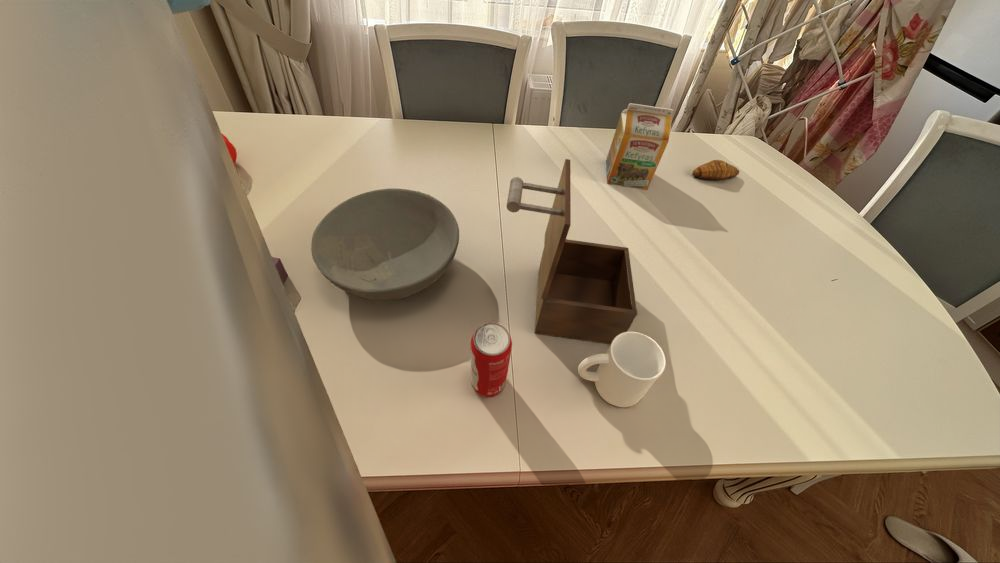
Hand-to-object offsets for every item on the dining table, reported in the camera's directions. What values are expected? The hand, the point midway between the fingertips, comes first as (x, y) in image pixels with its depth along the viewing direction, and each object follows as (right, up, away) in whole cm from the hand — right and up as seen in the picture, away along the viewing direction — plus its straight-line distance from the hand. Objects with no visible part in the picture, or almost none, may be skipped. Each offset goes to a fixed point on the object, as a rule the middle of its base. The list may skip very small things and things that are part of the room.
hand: (111, 322), depth 38 cm
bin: (+52, -1, +41) cm, 66 cm away
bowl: (+15, +6, +43) cm, 46 cm away
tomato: (-32, +31, +59) cm, 73 cm away
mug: (+55, -14, +30) cm, 64 cm away
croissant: (+96, +33, +74) cm, 126 cm away
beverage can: (+35, -13, +29) cm, 47 cm away
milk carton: (+71, +33, +71) cm, 105 cm away
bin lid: (+46, +12, +27) cm, 55 cm away
